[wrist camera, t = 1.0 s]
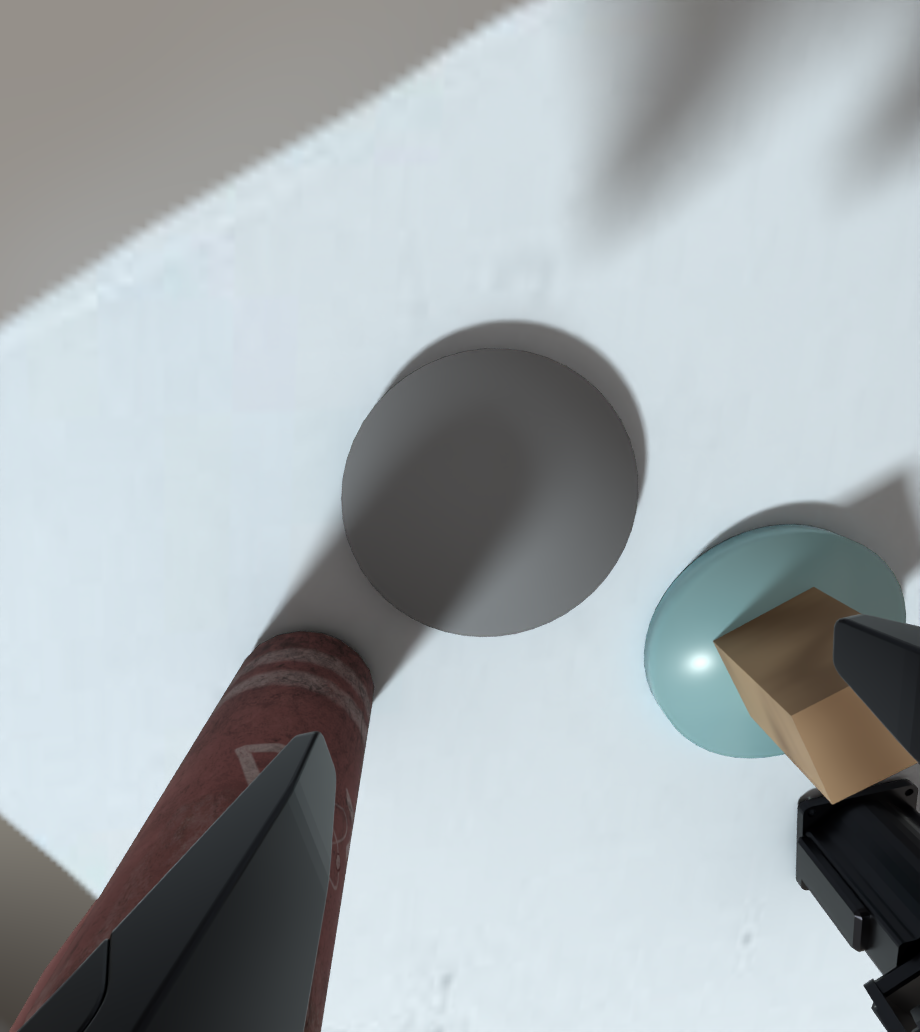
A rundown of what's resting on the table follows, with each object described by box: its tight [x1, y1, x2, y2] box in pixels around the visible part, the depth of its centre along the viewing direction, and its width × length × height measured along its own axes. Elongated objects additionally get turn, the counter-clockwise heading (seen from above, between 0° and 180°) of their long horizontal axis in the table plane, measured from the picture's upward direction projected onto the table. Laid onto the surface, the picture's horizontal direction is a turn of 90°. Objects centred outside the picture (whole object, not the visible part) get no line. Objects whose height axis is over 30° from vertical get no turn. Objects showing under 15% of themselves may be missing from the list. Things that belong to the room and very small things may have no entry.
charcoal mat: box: [341, 349, 638, 637], centre depth 20 cm, size 12×12×1 cm
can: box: [9, 631, 374, 1032], centre depth 16 cm, size 6×6×14 cm
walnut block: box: [713, 587, 918, 805], centre depth 20 cm, size 5×5×5 cm
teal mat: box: [644, 524, 906, 758], centre depth 23 cm, size 12×12×1 cm
